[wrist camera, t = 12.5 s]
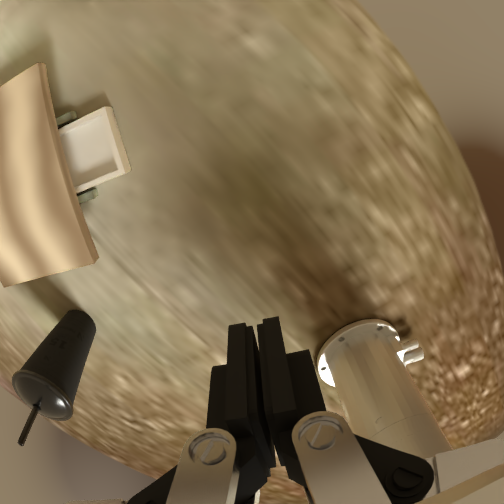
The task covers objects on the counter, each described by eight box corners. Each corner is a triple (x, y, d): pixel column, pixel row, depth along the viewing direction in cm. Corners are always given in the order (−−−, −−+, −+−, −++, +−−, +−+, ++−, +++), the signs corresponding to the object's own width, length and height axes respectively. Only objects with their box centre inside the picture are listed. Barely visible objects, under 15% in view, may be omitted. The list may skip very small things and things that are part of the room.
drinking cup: (111, 348, 38) (67, 473, 20) (64, 342, 37) (10, 452, 19) (99, 302, 35) (34, 432, 17) (50, 298, 34) (-25, 409, 16)
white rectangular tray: (112, 106, 26) (104, 106, 24) (131, 170, 29) (125, 173, 27) (15, 158, 27) (5, 161, 25) (33, 212, 30) (24, 218, 28)
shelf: (67, 68, 24) (37, 62, 18) (113, 239, 32) (94, 263, 26) (-18, 120, 24) (-48, 125, 18) (27, 264, 32) (3, 287, 27)
